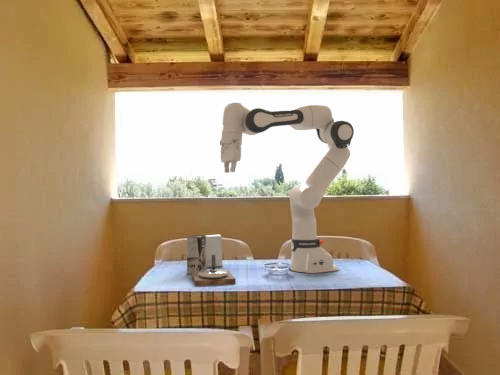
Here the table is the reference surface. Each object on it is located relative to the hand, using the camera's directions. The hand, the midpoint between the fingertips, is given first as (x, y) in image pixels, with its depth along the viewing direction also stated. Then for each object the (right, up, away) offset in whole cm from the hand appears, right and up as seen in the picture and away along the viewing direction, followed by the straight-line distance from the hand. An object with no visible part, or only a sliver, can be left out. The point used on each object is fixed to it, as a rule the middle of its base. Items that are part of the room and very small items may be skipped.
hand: (229, 172), depth 193 cm
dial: (-6, -43, -8) cm, 44 cm away
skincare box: (-9, -45, +23) cm, 51 cm away
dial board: (-6, -45, -8) cm, 46 cm away
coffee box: (-15, -45, +9) cm, 48 cm away
